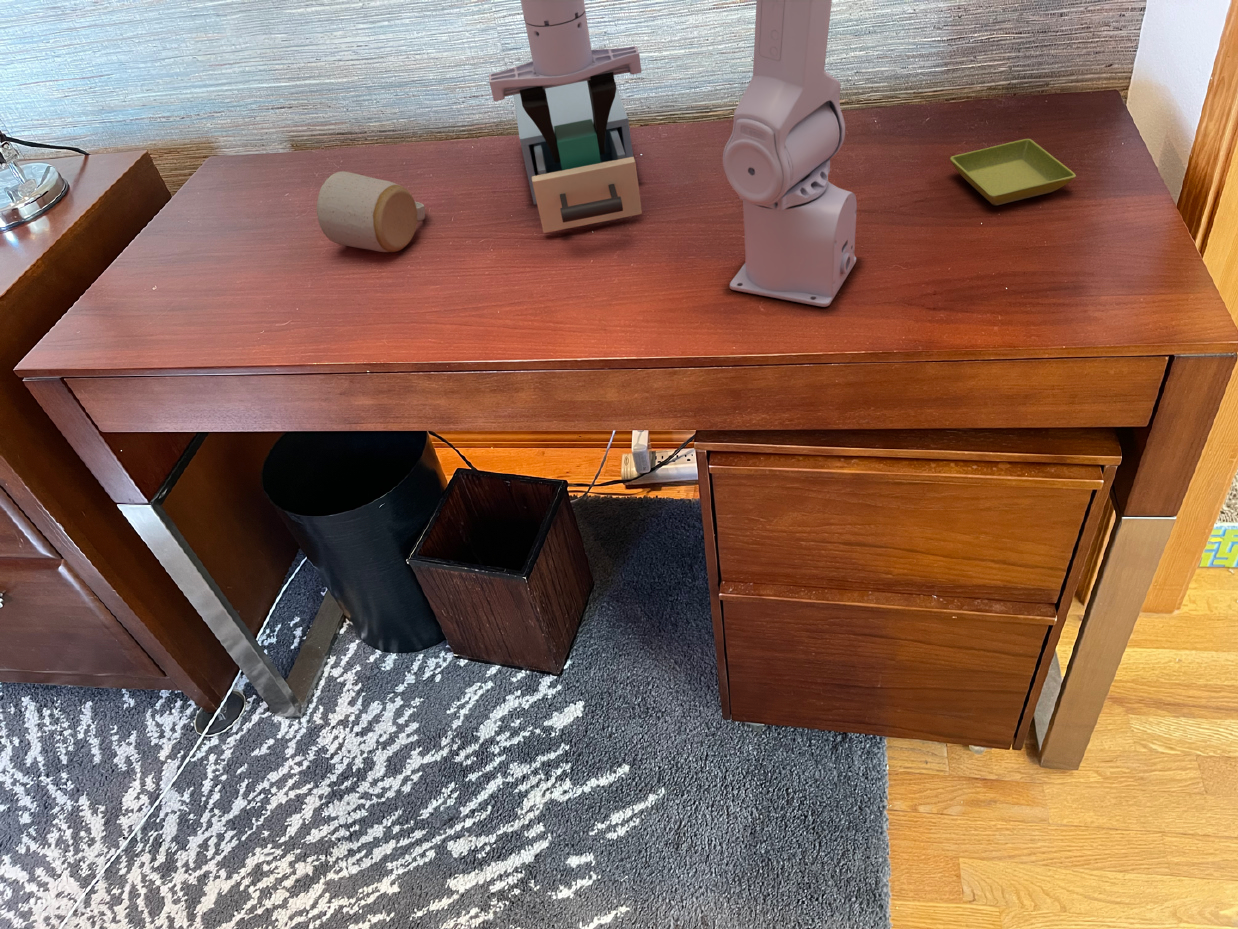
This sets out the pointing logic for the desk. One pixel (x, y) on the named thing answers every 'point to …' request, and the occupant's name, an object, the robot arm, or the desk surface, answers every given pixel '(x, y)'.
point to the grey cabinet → (567, 120)
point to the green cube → (577, 144)
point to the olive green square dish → (1012, 171)
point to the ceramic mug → (367, 212)
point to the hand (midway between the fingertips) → (579, 154)
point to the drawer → (586, 188)
